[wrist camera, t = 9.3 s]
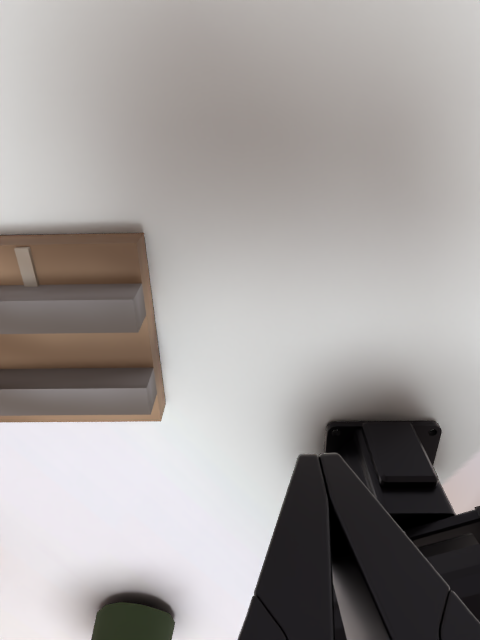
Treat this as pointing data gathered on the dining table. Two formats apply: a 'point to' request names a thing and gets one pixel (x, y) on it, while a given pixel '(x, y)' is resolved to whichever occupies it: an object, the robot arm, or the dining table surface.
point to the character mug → (132, 623)
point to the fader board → (84, 344)
